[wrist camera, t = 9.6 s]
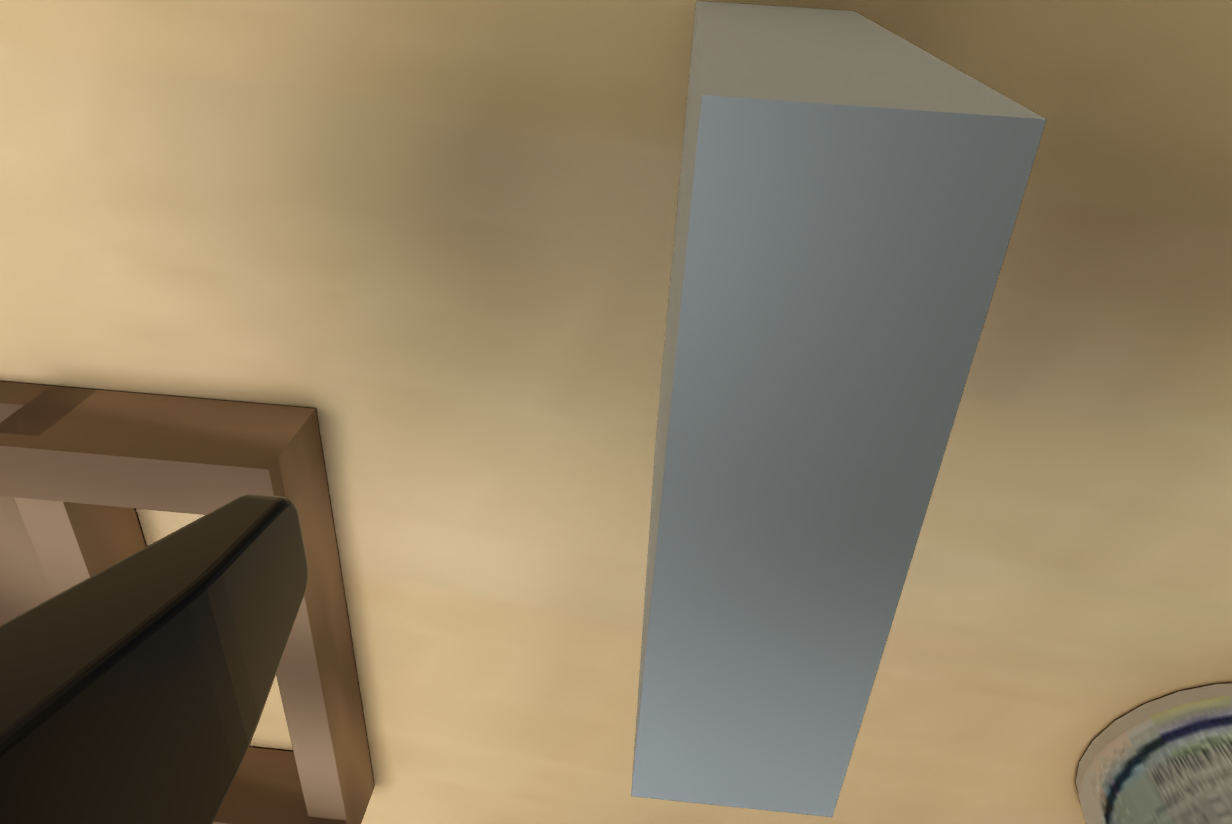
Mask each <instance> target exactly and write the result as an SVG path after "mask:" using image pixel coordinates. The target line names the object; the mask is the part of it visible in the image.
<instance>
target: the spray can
mask: <svg viewBox="0 0 1232 824" xmlns="http://www.w3.org/2000/svg"><path fill="white" fill-rule="evenodd" d="M1076 785H1077V789H1078V793H1079V800H1080V804H1081V808H1082V812H1083V816H1084V819H1085V821H1086V823H1087V824H1232V683H1229V684H1214V685H1209V686H1204V687H1199V688H1194V689H1189V690H1184V691H1179V692H1176V693H1173V694H1170V695H1168V696H1165V697H1162V698H1160V699H1157V700H1154V701H1151V702H1149V703H1146V704H1143V705H1142V706H1140V707H1138V708H1136V709H1135V710H1133V711H1131V712H1130V713H1128V714H1126V715H1124V716H1123V717H1121V718H1119V719H1117V720H1116V721H1114V722H1113V723H1112V724H1111V725H1110V726H1109V727H1107V728H1106V729H1105V730H1104V731H1103V732H1102V733H1101V734H1100V735H1099V736H1097V737H1096V738H1095V739H1094V740H1093V741H1092V743H1091V744H1090V746H1089V747H1088V749H1087V751H1086V752H1085V754H1084V755H1083V757H1082V758H1081V760H1080V762H1079V767H1078V772H1077V777H1076Z"/></svg>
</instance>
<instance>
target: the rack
mask: <svg viewBox="0 0 1232 824" xmlns="http://www.w3.org/2000/svg"><path fill="white" fill-rule="evenodd" d="M247 494H259V495H270V496H280V497H287V498H289V499H290V500H292V501H293V502H294V504H295V505H296V507H297V511H298V514H299V520H300V525H301V531H302V536H303V542H304V547H305V553H306V558H307V564H308V582H307V587H306V591H305V595H304V598H303V600H302V603H301V606H300V609H299V612H298V614H297V617H296V620H295V623H294V625H293V628H292V631H291V634H290V637H289V639H288V642H287V645H286V648H285V650H284V653H283V656H282V659H281V662H280V664H279V667H278V670H277V673H276V676H277V681H278V685H279V690H280V694H281V698H282V703H283V707H284V712H285V716H286V720H287V725H288V729H289V734H290V738H291V742H292V747H293V751H294V752H292V751H282V750H272V749H263V748H253V747H249V748H248V750H247V752H246V754H245V757H244V759H243V761H242V763H241V765H240V768H239V770H238V772H237V774H236V776H235V778H234V780H233V782H232V784H231V786H230V788H229V790H228V792H227V794H226V797H225V799H224V801H223V803H222V805H221V807H220V809H219V811H218V813H217V815H216V817H215V819H214V821H213V823H212V824H361V822H362V819H363V817H364V814H365V811H366V809H367V806H368V803H369V800H370V798H371V795H372V792H373V789H374V781H373V775H372V769H371V762H370V756H369V749H368V743H367V736H366V730H365V723H364V717H363V711H362V704H361V698H360V691H359V685H358V678H357V672H356V666H355V659H354V653H353V646H352V640H351V633H350V627H349V621H348V614H347V608H346V601H345V595H344V588H343V582H342V575H341V569H340V563H339V556H338V550H337V543H336V537H335V530H334V524H333V518H332V511H331V505H330V498H329V492H328V485H327V479H326V473H325V466H324V460H323V453H322V447H321V440H320V434H319V427H318V421H317V415H316V409H315V408H303V407H291V406H280V405H268V404H257V403H245V402H233V401H222V400H210V399H199V398H187V397H175V396H164V395H152V394H141V393H129V392H117V391H106V390H94V389H83V388H71V387H59V386H48V385H36V384H25V383H13V382H1V381H0V625H2V624H4V623H6V622H7V621H9V620H11V619H13V618H15V617H17V616H19V615H20V614H22V613H24V612H26V611H28V610H30V609H32V608H34V607H35V606H37V605H39V604H41V603H43V602H45V601H47V600H48V599H50V598H52V597H54V596H56V595H58V594H60V593H61V592H63V591H65V590H67V589H69V588H71V587H73V586H74V585H76V584H78V583H80V582H82V581H84V580H86V579H88V578H89V577H91V576H93V575H95V574H97V573H99V572H101V571H102V570H104V569H106V568H108V567H110V566H112V565H114V564H115V563H117V562H119V561H121V560H123V559H125V558H127V557H129V556H130V555H132V554H134V553H136V552H138V551H140V550H142V549H143V548H145V547H146V545H145V542H144V539H143V535H142V532H141V529H140V526H139V522H138V519H137V516H136V513H135V509H134V508H136V509H147V510H158V511H169V512H180V513H191V514H202V515H207V514H209V513H210V512H212V511H214V510H216V509H218V508H220V507H222V506H224V505H225V504H227V503H229V502H231V501H233V500H235V499H237V498H239V497H241V496H243V495H247Z"/></svg>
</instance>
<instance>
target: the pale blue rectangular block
mask: <svg viewBox="0 0 1232 824" xmlns="http://www.w3.org/2000/svg"><path fill="white" fill-rule="evenodd" d="M1046 120H1047V119H1045V118H1043V117H1042V116H1040V115H1038V114H1036V113H1035V112H1033V111H1031V110H1029V109H1027V108H1026V107H1024V106H1022V105H1020V104H1019V103H1017V102H1015V101H1013V100H1011V99H1010V98H1008V97H1006V96H1004V95H1003V94H1001V93H999V92H997V91H995V90H994V89H992V88H990V87H988V86H987V85H985V84H983V83H981V82H979V81H978V80H976V79H974V78H972V77H971V76H969V75H967V74H965V73H963V72H962V71H960V70H958V69H956V68H955V67H953V66H951V65H949V64H947V63H946V62H944V61H942V60H940V59H939V58H937V57H935V56H933V55H931V54H930V53H928V52H926V51H924V50H923V49H921V48H919V47H917V46H915V45H914V44H912V43H910V42H908V41H907V40H905V39H903V38H901V37H899V36H898V35H896V34H894V33H892V32H891V31H889V30H887V29H885V28H883V27H882V26H880V25H878V24H876V23H875V22H873V21H871V20H869V19H867V18H866V17H864V16H862V15H860V14H859V13H857V12H855V11H846V10H831V9H815V8H800V7H785V6H770V5H755V4H740V3H724V2H709V1H696V8H695V19H694V30H693V41H692V52H691V63H690V73H689V84H688V95H687V106H686V117H685V127H684V138H683V149H682V160H681V171H680V182H679V192H678V203H677V214H676V225H675V236H674V247H673V257H672V268H671V279H670V290H669V301H668V312H667V322H666V333H665V344H664V355H663V366H662V377H661V387H660V398H659V409H658V420H657V431H656V442H655V457H654V471H653V486H652V501H651V515H650V530H649V544H648V559H647V574H646V588H645V603H644V617H643V632H642V647H641V661H640V676H639V690H638V705H637V720H636V734H635V749H634V763H633V778H632V793H631V796H633V797H643V798H652V799H662V800H672V801H681V802H691V803H700V804H710V805H720V806H729V807H739V808H749V809H758V810H768V811H777V812H787V813H797V814H806V815H816V816H825V817H833V813H834V810H835V807H836V804H837V800H838V797H839V794H840V791H841V787H842V784H843V781H844V778H845V774H846V771H847V768H848V765H849V761H850V758H851V755H852V751H853V748H854V745H855V742H856V738H857V735H858V732H859V729H860V725H861V722H862V719H863V716H864V712H865V709H866V706H867V703H868V699H869V696H870V693H871V690H872V686H873V683H874V680H875V677H876V673H877V670H878V667H879V664H880V660H881V657H882V654H883V651H884V647H885V644H886V641H887V638H888V634H889V631H890V628H891V624H892V621H893V618H894V615H895V611H896V608H897V605H898V602H899V598H900V595H901V592H902V589H903V585H904V582H905V579H906V576H907V572H908V569H909V566H910V563H911V559H912V556H913V553H914V550H915V546H916V543H917V540H918V537H919V533H920V530H921V527H922V524H923V520H924V517H925V514H926V511H927V507H928V504H929V501H930V497H931V494H932V491H933V488H934V484H935V481H936V478H937V475H938V471H939V468H940V465H941V462H942V458H943V455H944V452H945V449H946V445H947V442H948V439H949V436H950V432H951V429H952V426H953V423H954V419H955V416H956V413H957V410H958V406H959V403H960V400H961V397H962V393H963V390H964V387H965V384H966V380H967V377H968V374H969V370H970V367H971V364H972V361H973V357H974V354H975V351H976V348H977V344H978V341H979V338H980V335H981V331H982V328H983V325H984V322H985V318H986V315H987V312H988V309H989V305H990V302H991V299H992V296H993V292H994V289H995V286H996V283H997V279H998V276H999V273H1000V270H1001V266H1002V263H1003V260H1004V257H1005V253H1006V250H1007V247H1008V244H1009V240H1010V237H1011V234H1012V230H1013V227H1014V224H1015V221H1016V217H1017V214H1018V211H1019V208H1020V204H1021V201H1022V198H1023V195H1024V191H1025V188H1026V185H1027V182H1028V178H1029V175H1030V172H1031V169H1032V165H1033V162H1034V159H1035V156H1036V152H1037V149H1038V146H1039V143H1040V139H1041V136H1042V133H1043V130H1044V126H1045V123H1046Z"/></svg>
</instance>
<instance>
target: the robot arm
mask: <svg viewBox="0 0 1232 824" xmlns="http://www.w3.org/2000/svg"><path fill="white" fill-rule="evenodd" d="M307 582H308V564H307V558H306V553H305V547H304V542H303V536H302V531H301V525H300V520H299V514H298V511H297V507H296V505H295V504H294V502H293V501H292V500H290V499H289V498H287V497H280V496H270V495H259V494H247V495H243V496H241V497H239V498H237V499H235V500H233V501H231V502H229V503H227V504H225V505H224V506H222V507H220V508H218V509H216V510H214V511H212V512H210V513H209V514H207V515H205V516H203V517H201V518H199V519H197V520H196V521H194V522H192V523H190V524H188V525H186V526H184V527H183V528H181V529H179V530H177V531H175V532H173V533H171V534H170V535H168V536H166V537H164V538H162V539H160V540H158V541H156V542H155V543H153V544H151V545H149V546H147V547H145V548H143V549H142V550H140V551H138V552H136V553H134V554H132V555H130V556H129V557H127V558H125V559H123V560H121V561H119V562H117V563H115V564H114V565H112V566H110V567H108V568H106V569H104V570H102V571H101V572H99V573H97V574H95V575H93V576H91V577H89V578H88V579H86V580H84V581H82V582H80V583H78V584H76V585H74V586H73V587H71V588H69V589H67V590H65V591H63V592H61V593H60V594H58V595H56V596H54V597H52V598H50V599H48V600H47V601H45V602H43V603H41V604H39V605H37V606H35V607H34V608H32V609H30V610H28V611H26V612H24V613H22V614H20V615H19V616H17V617H15V618H13V619H11V620H9V621H7V622H6V623H4V624H2V625H0V824H212V823H213V821H214V819H215V817H216V815H217V813H218V811H219V809H220V807H221V805H222V803H223V801H224V799H225V797H226V794H227V792H228V790H229V788H230V786H231V784H232V782H233V780H234V778H235V776H236V774H237V772H238V770H239V768H240V765H241V763H242V761H243V759H244V757H245V754H246V752H247V750H248V748H249V746H250V743H251V740H252V738H253V735H254V733H255V730H256V728H257V725H258V723H259V720H260V717H261V714H262V712H263V709H264V706H265V703H266V700H267V698H268V695H269V692H270V689H271V687H272V684H273V681H274V678H275V675H276V673H277V670H278V667H279V664H280V662H281V659H282V656H283V653H284V650H285V648H286V645H287V642H288V639H289V637H290V634H291V631H292V628H293V625H294V623H295V620H296V617H297V614H298V612H299V609H300V606H301V603H302V600H303V598H304V595H305V591H306V587H307Z"/></svg>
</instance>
